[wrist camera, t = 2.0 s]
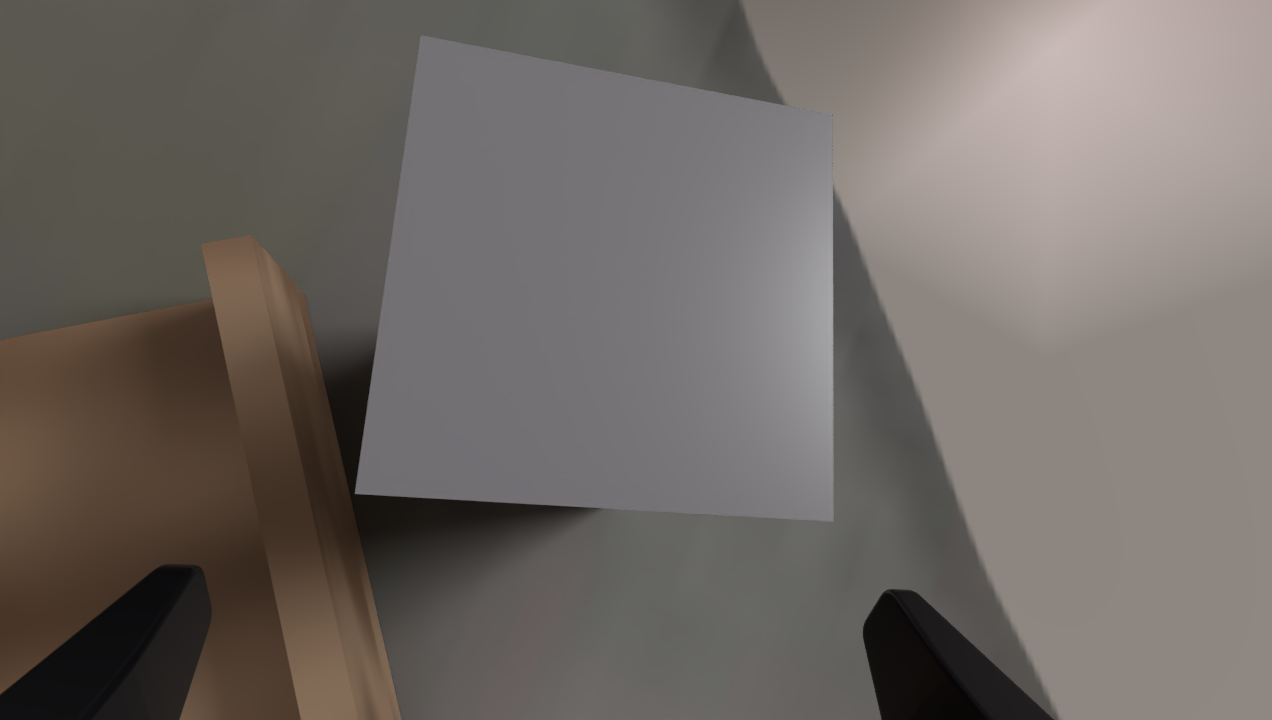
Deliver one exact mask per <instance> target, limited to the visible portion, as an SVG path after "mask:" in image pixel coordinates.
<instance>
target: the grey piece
mask: <svg viewBox="0 0 1272 720" xmlns="http://www.w3.org/2000/svg"><path fill="white" fill-rule="evenodd" d="M832 116H833V115H831V114H826V113H821V112H815V111H810V110H805V109H800V108H795V107H790V106H784V105H779V104H774V103H769V102H764V101H759V100H753V99H748V98H743V97H738V96H733V95H727V94H722V93H717V92H712V91H707V90H702V89H696V88H691V87H686V86H681V85H676V84H670V83H665V82H660V81H655V80H650V79H645V78H639V77H634V76H629V75H624V74H619V73H613V72H608V71H603V70H598V69H593V68H588V67H582V66H577V65H572V64H567V63H562V62H556V61H551V60H546V59H541V58H536V57H531V56H525V55H520V54H515V53H510V52H505V51H499V50H494V49H489V48H484V47H479V46H474V45H468V44H463V43H458V42H453V41H448V40H442V39H437V38H432V37H427V36H422V35H421V37H420V44H419V51H418V58H417V65H416V72H415V79H414V86H413V93H412V100H411V107H410V113H409V120H408V127H407V134H406V141H405V148H404V155H403V162H402V169H401V176H400V183H399V190H398V197H397V204H396V211H395V218H394V225H393V231H392V238H391V245H390V252H389V259H388V266H387V273H386V280H385V287H384V294H383V301H382V308H381V315H380V322H379V329H378V336H377V343H376V350H375V356H374V363H373V370H372V377H371V384H370V391H369V398H368V405H367V412H366V419H365V426H364V433H363V440H362V447H361V454H360V461H359V468H358V474H357V481H356V488H355V494H364V495H382V496H399V497H416V498H434V499H451V500H468V501H486V502H503V503H520V504H538V505H555V506H572V507H589V508H607V509H624V510H641V511H659V512H676V513H693V514H711V515H728V516H745V517H762V518H780V519H797V520H814V521H832V522H833V118H832Z"/></svg>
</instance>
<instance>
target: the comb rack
mask: <svg viewBox="0 0 1272 720" xmlns="http://www.w3.org/2000/svg"><path fill="white" fill-rule="evenodd" d="M201 246H202V251H203V256H204V261H205V265H206V270H207V275H208V280H209V284H210V289H211V294H212V299H208V300H203V301H198V302H193V303H188V304H183V305H177V306H172V307H167V308H162V309H157V310H152V311H147V312H141V313H136V314H131V315H126V316H121V317H116V318H111V319H105V320H100V321H95V322H90V323H85V324H80V325H75V326H69V327H64V328H59V329H54V330H49V331H44V332H39V333H33V334H28V335H23V336H18V337H13V338H8V339H3V340H0V694H1V693H2V692H3V691H5V690H6V689H7V688H8V687H10V686H11V685H12V684H13V683H15V682H16V681H17V680H18V679H20V678H21V677H22V676H23V675H24V674H26V673H27V672H28V671H29V670H31V669H32V668H33V667H34V666H36V665H37V664H38V663H39V662H40V661H42V660H43V659H44V658H45V657H47V656H48V655H49V654H50V653H52V652H53V651H54V650H55V649H56V648H58V647H59V646H60V645H61V644H63V643H64V642H65V641H66V640H68V639H69V638H70V637H71V636H73V635H74V634H75V633H76V632H77V631H79V630H80V629H81V628H82V627H84V626H85V625H86V624H87V623H89V622H90V621H91V620H92V619H93V618H95V617H96V616H97V615H98V614H100V613H101V612H102V611H103V610H105V609H106V608H107V607H108V606H110V605H111V604H112V603H113V602H114V601H116V600H117V599H118V598H119V597H121V596H122V595H123V594H124V593H126V592H127V591H128V590H129V589H130V588H132V587H133V586H134V585H135V584H137V583H138V582H139V581H140V580H142V579H143V578H144V577H145V576H147V575H148V574H149V573H150V572H151V571H153V570H154V569H155V568H157V567H159V566H162V565H165V564H186V565H198V566H199V567H201V568H202V569H203V572H204V575H205V579H206V583H207V587H208V592H209V596H210V600H211V605H212V619H211V624H210V627H209V631H208V634H207V637H206V640H205V643H204V646H203V649H202V652H201V655H200V658H199V662H198V665H197V668H196V671H195V674H194V677H193V680H192V683H191V686H190V689H189V692H188V695H187V698H186V701H185V705H184V708H183V711H182V714H181V717H180V720H401V715H400V711H399V707H398V702H397V698H396V694H395V689H394V685H393V680H392V676H391V672H390V667H389V663H388V659H387V654H386V650H385V645H384V641H383V637H382V632H381V628H380V624H379V619H378V615H377V610H376V606H375V602H374V597H373V593H372V589H371V584H370V580H369V575H368V571H367V567H366V562H365V558H364V554H363V549H362V545H361V540H360V536H359V532H358V527H357V523H356V519H355V514H354V510H353V505H352V501H351V497H350V492H349V488H348V484H347V479H346V475H345V470H344V466H343V462H342V457H341V453H340V449H339V444H338V440H337V436H336V431H335V427H334V422H333V418H332V414H331V409H330V405H329V401H328V396H327V392H326V387H325V383H324V379H323V374H322V370H321V366H320V361H319V357H318V352H317V348H316V344H315V339H314V335H313V331H312V326H311V322H310V317H309V313H308V309H307V304H306V300H305V296H304V293H303V292H302V291H301V289H300V288H299V287H298V286H297V285H296V284H295V283H294V282H293V281H292V280H291V278H290V277H289V276H288V275H287V274H286V273H285V272H284V271H283V270H282V268H281V267H280V266H279V265H278V264H277V263H276V262H275V261H274V260H273V259H272V257H271V256H270V255H269V254H268V253H267V252H266V251H265V250H264V249H263V248H262V246H261V245H260V244H259V243H258V242H257V241H256V240H255V239H254V238H253V237H252V235H248V236H242V237H237V238H231V239H225V240H220V241H214V242H208V243H202V244H201Z"/></svg>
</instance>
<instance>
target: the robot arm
mask: <svg viewBox="0 0 1272 720" xmlns="http://www.w3.org/2000/svg"><path fill="white" fill-rule="evenodd" d="M211 619H212V605H211V600H210V596H209V592H208V587H207V583H206V579H205V575H204V572H203V569H202V568H201V567H199V566H198V565H186V564H165V565H162V566H159V567H157V568H155V569H154V570H153V571H151V572H150V573H149V574H148V575H147V576H145V577H144V578H143V579H142V580H140V581H139V582H138V583H137V584H135V585H134V586H133V587H132V588H130V589H129V590H128V591H127V592H126V593H124V594H123V595H122V596H121V597H119V598H118V599H117V600H116V601H114V602H113V603H112V604H111V605H110V606H108V607H107V608H106V609H105V610H103V611H102V612H101V613H100V614H98V615H97V616H96V617H95V618H93V619H92V620H91V621H90V622H89V623H87V624H86V625H85V626H84V627H82V628H81V629H80V630H79V631H77V632H76V633H75V634H74V635H73V636H71V637H70V638H69V639H68V640H66V641H65V642H64V643H63V644H61V645H60V646H59V647H58V648H56V649H55V650H54V651H53V652H52V653H50V654H49V655H48V656H47V657H45V658H44V659H43V660H42V661H40V662H39V663H38V664H37V665H36V666H34V667H33V668H32V669H31V670H29V671H28V672H27V673H26V674H24V675H23V676H22V677H21V678H20V679H18V680H17V681H16V682H15V683H13V684H12V685H11V686H10V687H8V688H7V689H6V690H5V691H3V692H2V693H1V694H0V720H180V717H181V714H182V711H183V708H184V705H185V701H186V698H187V695H188V692H189V689H190V686H191V683H192V680H193V677H194V674H195V671H196V668H197V665H198V662H199V658H200V655H201V652H202V649H203V646H204V643H205V640H206V637H207V634H208V631H209V627H210V624H211ZM863 639H864V644H865V649H866V653H867V657H868V662H869V666H870V671H871V675H872V680H873V684H874V688H875V693H876V697H877V702H878V706H879V710H880V715H881V719H882V720H1054V719H1053V718H1052V717H1051V716H1050V715H1048V714H1047V713H1046V712H1045V711H1044V710H1043V709H1042V708H1041V707H1040V706H1039V705H1038V704H1037V703H1036V702H1034V701H1033V700H1032V699H1031V698H1030V697H1029V696H1028V695H1027V694H1026V693H1025V692H1024V691H1023V690H1022V689H1020V688H1019V687H1018V686H1017V685H1016V684H1015V683H1014V682H1013V681H1012V680H1011V679H1010V678H1009V677H1007V676H1006V675H1005V674H1004V673H1003V672H1002V671H1001V670H1000V669H999V668H998V667H997V666H996V665H995V664H993V663H992V662H991V661H990V660H989V659H988V658H987V657H986V656H985V655H984V654H983V653H982V652H981V651H979V650H978V649H977V648H976V647H975V646H974V645H973V644H972V643H971V642H970V641H969V640H968V639H967V638H965V637H964V636H963V635H962V634H961V633H960V632H959V631H958V630H957V629H956V628H955V627H954V626H952V625H951V624H950V623H949V622H948V621H947V620H946V619H945V618H944V617H943V616H942V615H941V614H940V613H938V612H937V611H936V610H935V609H934V608H933V607H932V606H931V605H930V604H929V603H928V602H927V601H926V600H924V599H923V598H922V597H921V596H920V595H919V594H917V593H916V592H914V591H911V590H899V589H889V590H886V591H885V592H883V594H882V595H881V596H880V598H879V600H878V601H877V603H876V604H875V606H874V608H873V609H872V611H871V612H870V614H869V616H868V617H867V619H866V621H865V623H864V627H863Z"/></svg>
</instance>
